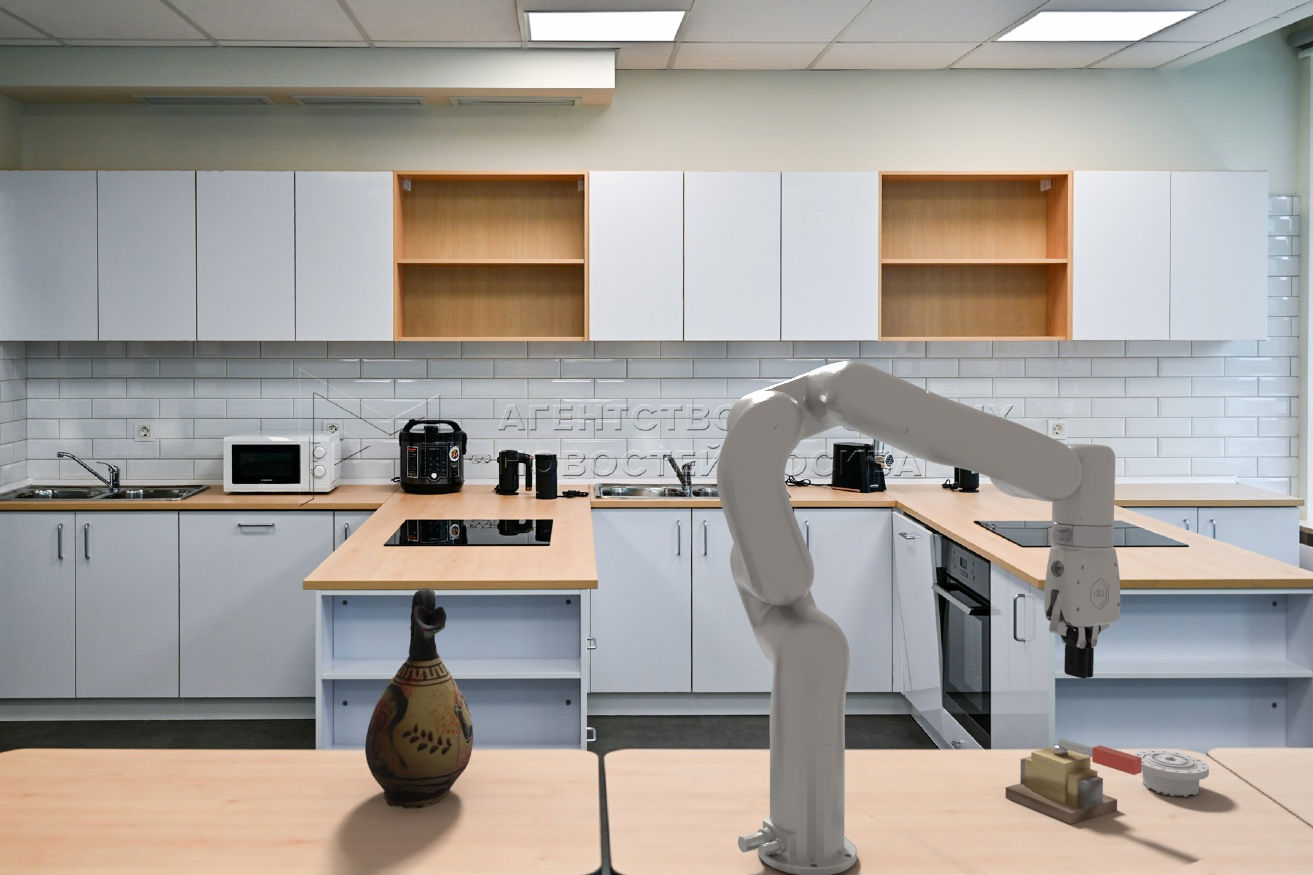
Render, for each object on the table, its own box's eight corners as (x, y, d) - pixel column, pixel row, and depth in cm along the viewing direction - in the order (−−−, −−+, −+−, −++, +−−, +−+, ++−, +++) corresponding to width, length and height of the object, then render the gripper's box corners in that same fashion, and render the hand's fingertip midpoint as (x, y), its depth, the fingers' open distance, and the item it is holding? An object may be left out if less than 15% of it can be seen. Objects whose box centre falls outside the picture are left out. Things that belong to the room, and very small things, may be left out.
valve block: (1070, 824, 132) (1071, 772, 132) (1005, 797, 142) (1005, 749, 142) (1117, 809, 137) (1117, 759, 137) (1050, 784, 147) (1051, 738, 147)
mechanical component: (1201, 775, 138) (1125, 760, 145) (1200, 806, 138) (1125, 789, 145) (1214, 757, 146) (1142, 743, 152) (1214, 786, 146) (1142, 771, 152)
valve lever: (1050, 752, 140) (1050, 735, 140) (1058, 749, 141) (1058, 732, 141) (1133, 778, 129) (1133, 760, 129) (1141, 775, 130) (1142, 757, 130)
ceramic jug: (483, 806, 138) (483, 597, 138) (370, 823, 132) (370, 604, 132) (461, 767, 154) (461, 579, 153) (360, 780, 148) (359, 585, 148)
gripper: (1069, 543, 121) (1066, 689, 121) (1143, 538, 129) (1139, 676, 129) (1020, 536, 128) (1016, 675, 128) (1093, 532, 135) (1089, 663, 135)
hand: (1078, 675), depth 128 cm, fingers closed
